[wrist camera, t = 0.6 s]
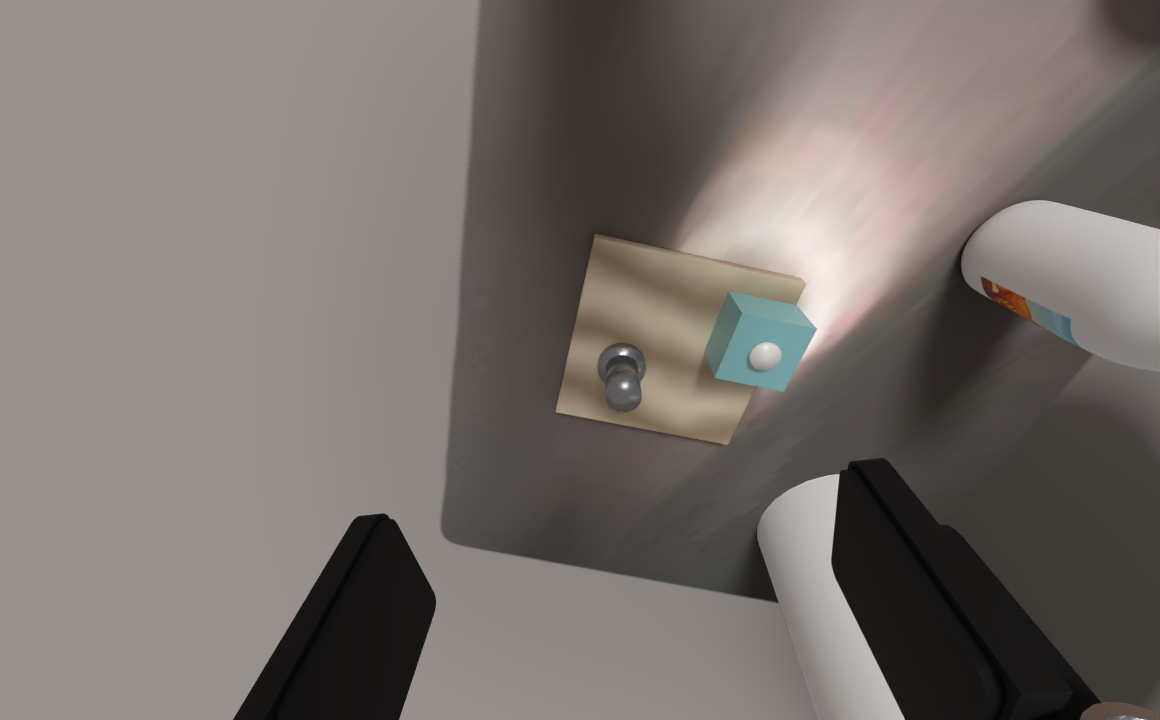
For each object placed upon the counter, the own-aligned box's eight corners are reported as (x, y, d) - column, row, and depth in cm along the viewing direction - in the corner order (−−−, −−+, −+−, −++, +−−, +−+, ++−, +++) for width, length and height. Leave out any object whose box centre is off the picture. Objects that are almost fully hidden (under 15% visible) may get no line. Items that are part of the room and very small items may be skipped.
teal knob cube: (728, 290, 39) (743, 316, 35) (795, 305, 39) (819, 332, 35) (704, 351, 42) (715, 381, 38) (767, 363, 42) (785, 395, 38)
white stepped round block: (727, 543, 57) (817, 877, 33) (827, 451, 49) (1043, 805, 25) (835, 587, 61) (988, 918, 37) (945, 508, 52) (1235, 867, 28)
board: (594, 233, 38) (594, 237, 37) (801, 278, 39) (806, 283, 38) (556, 405, 47) (555, 412, 46) (725, 437, 48) (727, 444, 47)
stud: (603, 338, 42) (603, 370, 37) (650, 348, 42) (656, 381, 37) (593, 378, 44) (591, 413, 39) (638, 387, 44) (642, 423, 40)
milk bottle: (946, 234, 37) (1242, 364, 20) (1056, 177, 35) (1505, 267, 17) (968, 308, 40) (1242, 475, 23) (1072, 259, 38) (1466, 406, 20)
